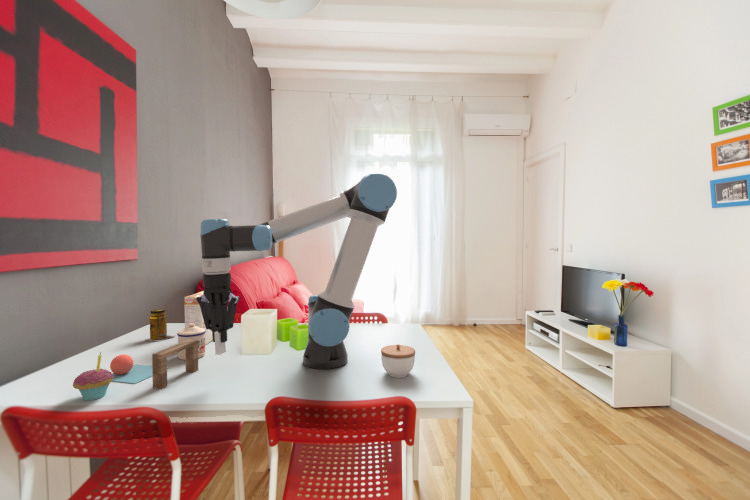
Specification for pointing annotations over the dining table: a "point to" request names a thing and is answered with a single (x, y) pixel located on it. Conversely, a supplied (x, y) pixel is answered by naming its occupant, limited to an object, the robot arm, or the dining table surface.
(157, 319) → the condiment
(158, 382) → the bridge
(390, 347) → the lidded jar
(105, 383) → the cupcake
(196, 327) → the teacup with lid
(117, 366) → the ball
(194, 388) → the dining table surface
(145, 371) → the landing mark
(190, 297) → the coffeecake box
